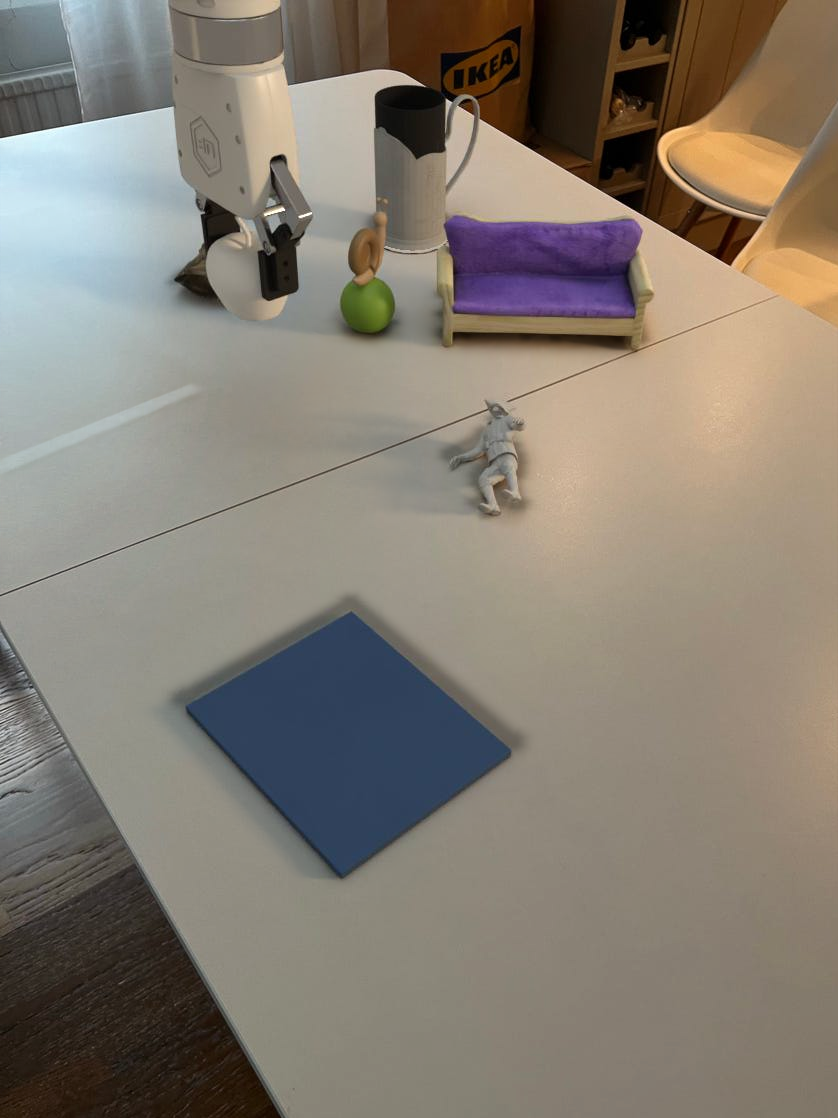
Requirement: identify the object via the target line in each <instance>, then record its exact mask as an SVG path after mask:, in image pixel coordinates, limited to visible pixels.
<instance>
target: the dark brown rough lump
mask: <svg viewBox="0 0 838 1118" xmlns="http://www.w3.org/2000/svg"><path fill="white" fill-rule="evenodd" d="M173 281H174V282H175V283H178V284H179V285H181V286H182V287H184V288H185V289H186V290H188V291H189V292H191V293H192V294H194V295H196V296H198V297H202V298H204V299H219V297H218V296H217V294H216V293H215V291H214V290H213V288H212V286H211V285H210V282H209V280H208V276H207V272H206V253H205V245H204V242H203V243H201V247H200V248H199V249H198V254H197V255H196V257H194V258H193V259H192V260H190V261H189V262H187V264H186V265H184V267H183V268H182V269H181V270H180V271H179V272H178V274H177V275H176V276H175V277H174V279H173Z"/></svg>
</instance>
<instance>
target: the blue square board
mask: <svg viewBox="0 0 838 1118" xmlns="http://www.w3.org/2000/svg"><path fill="white" fill-rule="evenodd" d="M185 710H186V712H187V714H188V715H189V716H190V717H191V718H192V719H193V720H194V721H195V722H196V724H198V726H199V727H200V728H201V729H202V730H203V731H204V732H205V733H206V734H207V735H208V736H209V737H210V738H211V739H212V741H213V742H214V743H215V744H216V745H217V746H218V747H219V748H220V749H221V750H222V751H223V753H224V754H225V755H226V756H227V757H228V758H229V759H230V760H231V761H232V763H234V764H235V766H237V768H238V769H239V770H240V771H241V772H242V773H243V774H244V775H245V776H246V778H247V779H248V780H250V782H251V783H252V784H253V785H254V786H255V787H256V788H257V789H258V791H260V793H261V794H262V795H263V796H264V797H265V798H266V799H267V800H268V801H269V802H270V803H271V804H272V806H274V807H275V809H276V810H277V811H278V812H279V813H280V814H281V815H282V816H283V817H284V818H285V820H287V822H288V823H289V824H290V825H291V826H292V827H293V828H294V829H295V830H296V832H298V833H299V835H301V837H302V838H303V839H304V840H305V841H306V842H307V843H308V844H309V846H311V847H312V849H313V850H314V851H315V852H316V853H317V854H318V855H319V856H320V857H321V858H322V859H323V860H324V862H325V863H326V864H327V865H328V866H329V867H330V868H331V869H332V870H333V871H334V872H335V873H336V874H337V876H338V877H339V878H341V879H343V878H345V877H346V876H347V875H349V874H350V873H352V872H353V871H354V870H356V869H358V867H360V866H361V865H362V864H364V863H365V862H367V861H368V860H369V859H370V858H372V857H373V856H375V855H376V854H378V853H379V852H381V851H382V850H383V849H385V848H386V847H387V846H389V845H390V844H391V843H393V842H394V841H396V840H397V839H398V838H400V837H402V835H403V834H405V833H406V832H408V831H410V830H411V829H412V828H413V827H415V826H416V825H417V824H419V823H420V822H422V821H423V820H425V818H427V817H428V816H430V815H431V814H432V813H434V812H435V811H437V810H438V809H439V808H440V807H442V806H444V805H445V804H446V803H447V802H449V801H450V800H452V799H453V798H454V797H456V796H457V795H458V794H460V793H461V792H463V791H464V790H465V789H467V788H468V787H469V786H471V785H472V784H473V783H475V782H477V780H479V779H480V778H482V777H483V776H485V775H486V774H487V773H488V772H490V771H491V770H493V769H494V768H496V767H497V766H499V764H501V763H503V762H504V761H505V760H506V759H508V758H509V757H511V755H512V748H510V747H509V746H508V745H507V744H505V743H504V742H503V741H502V740H500V739H499V738H498V737H497V736H496V735H495V734H494V733H493V732H492V731H490V730H489V729H488V728H487V727H486V726H484V725H483V724H482V723H481V722H480V721H479V720H478V719H476V717H474V716H473V715H472V714H471V713H469V712H468V711H467V710H466V709H465V708H464V707H463V706H461V705H460V704H459V703H458V702H457V701H455V699H453V698H452V697H451V696H450V695H449V694H447V693H446V692H445V691H444V690H443V689H442V688H441V687H440V686H438V685H437V683H435V682H434V681H433V680H432V679H430V678H429V677H428V676H427V675H426V674H425V673H424V672H422V670H420V669H419V668H418V667H416V666H415V664H413V663H412V662H411V661H410V660H409V659H407V658H406V657H405V656H404V655H403V654H402V653H400V652H399V651H398V650H397V649H396V648H395V647H394V646H393V645H391V644H390V643H389V642H388V641H386V640H385V639H384V638H383V637H382V636H381V635H380V634H379V633H377V632H376V631H375V630H374V629H373V628H372V627H371V626H369V625H368V624H367V623H366V621H365V622H364V620H362V618H360V617H359V616H358V615H356V613H354V612H353V611H349V612H347V613H346V614H344V615H342V616H340V617H339V618H337V619H335V620H333V621H331V622H330V623H328V624H326V625H324V626H323V627H321V628H319V629H318V630H316V631H314V632H312V633H311V634H308V635H307V636H306V637H303V638H301V639H300V640H299V641H297V642H295V643H293V644H292V645H289V646H288V647H286V648H284V649H283V650H281V651H279V652H277V653H276V654H274V655H272V656H270V657H268V658H266V660H263V661H262V662H260V663H258V664H257V665H255V666H253V667H251V668H250V669H248V670H246V671H244V672H242V673H241V674H239V675H237V676H235V677H234V678H232V679H230V680H229V681H227V682H225V683H223V684H222V685H220V686H218V687H216V688H214V689H213V690H211V691H209V692H208V693H206V694H204V695H203V696H200V697H199V698H197V699H196V700H193V701H192V702H190V703H188V704H187V705H185Z"/></svg>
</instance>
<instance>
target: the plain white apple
mask: <svg viewBox="0 0 838 1118" xmlns="http://www.w3.org/2000/svg"><path fill="white" fill-rule="evenodd" d="M235 219H236V220H237V222H238V224H239V226H240V230H241V232H238V233H231V234H228V235H226V236H224V237H223V238H220V239H218V240H217V241H216V242H214V243H213V244H212V245H211V247H210V248H209V251H208V254H207V259H206V272H207V276H208V280H209V282H210V285H211V286H212V288H213V290H214V291H215V293H216V294H217V296H218V297H219V298H218V299H219V301H220V302H221V304H222V305H223V306H224V308H225V309H226V310H227V312H229V313H230V314H231V315H233V316H235V317H236V318H238V319H240V320H242V321H246V322H247V321H249V322H259V323H260V322H265V321H269V320H271V319H274V318H277V317H278V316H279V315H280V314H281V313H282V312H283V309H284V307H285V305H286V303H287V300H288V297H289V295H286V296H283V297H281V298H278V299H275V300H272V301H267V300H265V299H264V298H263V297H262V293H261V283H260V272H259V262H258V251H260V250H263V248H262V245H261V242H260V239H259V236H258V233H257V230H252V231H251V230H250V231H249V229H248V227H247V226H246V224H245V223H244V221H243V219H242V218H240V217H238V216H235Z"/></svg>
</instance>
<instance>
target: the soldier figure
mask: <svg viewBox="0 0 838 1118" xmlns="http://www.w3.org/2000/svg"><path fill="white" fill-rule="evenodd" d="M483 402H485V405H486V407H487V409H488V412H489V413H490V415H491V416H492V417H493V418H491V419H490V420H489V421H488V422H486V425H487V426H486V427H485V428H484V429H483V430H482V433H481V435H480V437H479V440H478V441H477V444H476V445H475V446H474V448H472V449H471V450H469V451H467V452H463V453H461V454H459V455H455V456H453V457H452V458H451V459H450V460H449V462H448V466H451V464H453V463H454V468H457V466H458V464H459V463H460V462H461V463H463V462H464V463H465V462H468V461H472V460H476V459H479V458H480V457H481V456H484V454H485V455H486V456H487V460H488V466H489V467H486V468H485V469H484V470H483V472H482V473H481V474H480V475H479V476H478V478H477V483H478V490H479V492H480V494H482V495H483V497H484V499H485V500H486V503H483V502H481V503H479V504H478V505H477V509H478V510H479V511H480V512H481V513H483V514H491V515H492V516H499V515H500V514H501V508H500V506H499V504H498V502H497V499H496V496H495V492H494V487H493V486H495V485H496V484H498V483H499V482H502V481H503V480H506V482H507V485H508V487H509V490H508V489H506V488H505V489H502V491H501V493H500V494H501V497H502V498H503V499H504V500H505V501H511V502H512V503H513V504H519V503H522V496H521V494H520V492H519V486H518V485H519V484H518V476H517V470H518V466H519V465H518V463H519V456H518V454H517V451H516V448H515V445H514V436H515V432H523V431H524V430H526V428H527V427H526V421H525V420H524V419H523V418H521V417H519V416H514V414H511V412H513V411H515V410H517V407H516V406H515V405H513V404H512V403H510V402H509V401H508V400H503V399H498V398H495V397H490V398H485V399H484V401H483Z"/></svg>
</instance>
